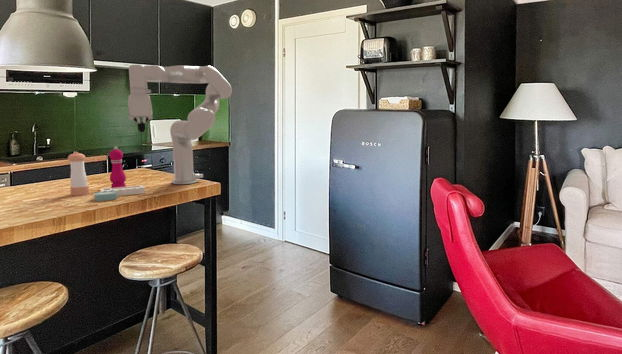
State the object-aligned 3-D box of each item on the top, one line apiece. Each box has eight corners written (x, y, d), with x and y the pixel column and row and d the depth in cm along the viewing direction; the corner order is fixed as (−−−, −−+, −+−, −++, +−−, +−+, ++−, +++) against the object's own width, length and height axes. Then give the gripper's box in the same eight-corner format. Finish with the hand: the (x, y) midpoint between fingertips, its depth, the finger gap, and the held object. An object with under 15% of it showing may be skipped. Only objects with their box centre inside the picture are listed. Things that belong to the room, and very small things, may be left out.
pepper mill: (120, 189, 210) (117, 147, 207) (107, 188, 211) (103, 146, 208) (129, 186, 217) (126, 145, 214) (116, 185, 218) (113, 145, 215)
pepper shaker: (76, 196, 194) (72, 153, 191) (67, 194, 198) (63, 152, 195) (92, 193, 200) (88, 151, 197) (83, 191, 204) (79, 150, 201)
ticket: (142, 190, 207) (142, 185, 206) (145, 193, 201) (144, 187, 200) (100, 194, 198) (100, 188, 197) (101, 197, 192) (101, 191, 191)
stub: (115, 196, 194) (114, 190, 193) (116, 199, 189) (116, 193, 188) (94, 198, 190) (94, 192, 189) (95, 201, 185) (95, 195, 184)
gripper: (154, 92, 211) (156, 130, 214) (120, 92, 204) (123, 131, 207) (157, 92, 204) (159, 131, 207) (122, 91, 197) (125, 133, 200)
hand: (141, 131), depth 207 cm, fingers closed
